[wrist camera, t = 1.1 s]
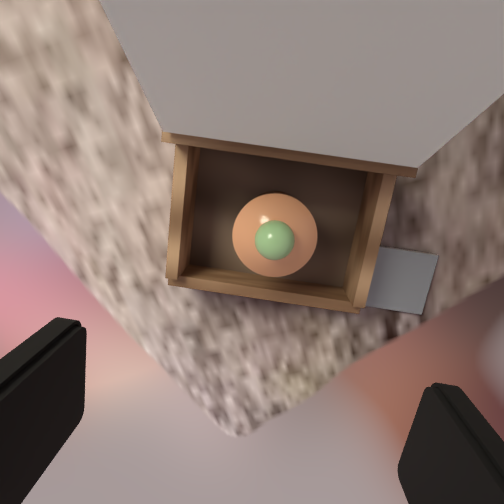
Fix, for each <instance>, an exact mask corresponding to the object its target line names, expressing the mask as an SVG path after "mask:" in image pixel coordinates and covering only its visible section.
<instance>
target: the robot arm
mask: <svg viewBox="0 0 504 504" xmlns="http://www.w3.org/2000/svg"><path fill="white" fill-rule="evenodd" d="M86 335H87V334H86V328H84V327H81V323H80V322H79V321H77V320H72V319H65V318H60V317H57V318H55V319H53V320H52V321H51V322H49V323H48V324H47V325H45V326H44V327H42V328H41V329H40V330H39V331H37V332H36V333H34V334H33V335H32V336H30V337H29V338H28V339H27V340H25V341H24V342H23V343H21V344H20V345H19V346H17V347H16V348H15V349H13V350H12V351H11V352H9V353H8V354H7V355H5V356H4V357H3V358H1V359H0V504H21V503H22V502H23V500H24V499H25V497H26V496H27V495H28V493H29V492H30V490H31V489H32V488H33V486H34V485H35V483H36V482H37V481H38V479H39V478H40V477H41V475H42V474H43V472H44V471H45V470H46V468H47V467H48V465H49V464H50V463H51V461H52V460H53V459H54V457H55V456H56V454H57V453H58V451H59V450H60V449H61V447H62V446H63V445H64V443H65V442H66V440H67V439H68V438H69V436H70V435H71V433H72V432H73V431H74V429H75V428H76V427H77V425H78V424H79V422H80V420H81V418H82V416H83V412H84V401H85V398H84V397H85V367H86V366H85V365H86ZM398 476H399V480H400V483H401V485H402V488H403V491H404V493H405V496H406V498H407V501H408V503H409V504H504V442H503V440H502V439H501V438H500V436H499V435H498V434H497V433H496V432H495V430H494V429H493V428H492V427H491V425H490V424H489V423H488V422H487V420H486V419H485V418H484V417H483V415H482V414H481V413H480V412H479V410H478V409H477V408H476V407H475V405H474V404H473V403H472V402H471V401H470V399H469V398H468V397H467V396H466V394H465V393H464V392H463V391H462V389H460V388H459V387H458V386H453V385H447V384H442V383H434V384H432V385H431V387H427V388H426V389H425V390H424V392H423V395H422V398H421V401H420V404H419V407H418V409H417V412H416V415H415V418H414V421H413V424H412V427H411V429H410V432H409V435H408V438H407V441H406V443H405V446H404V449H403V452H402V455H401V458H400V461H399V464H398Z"/></svg>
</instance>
